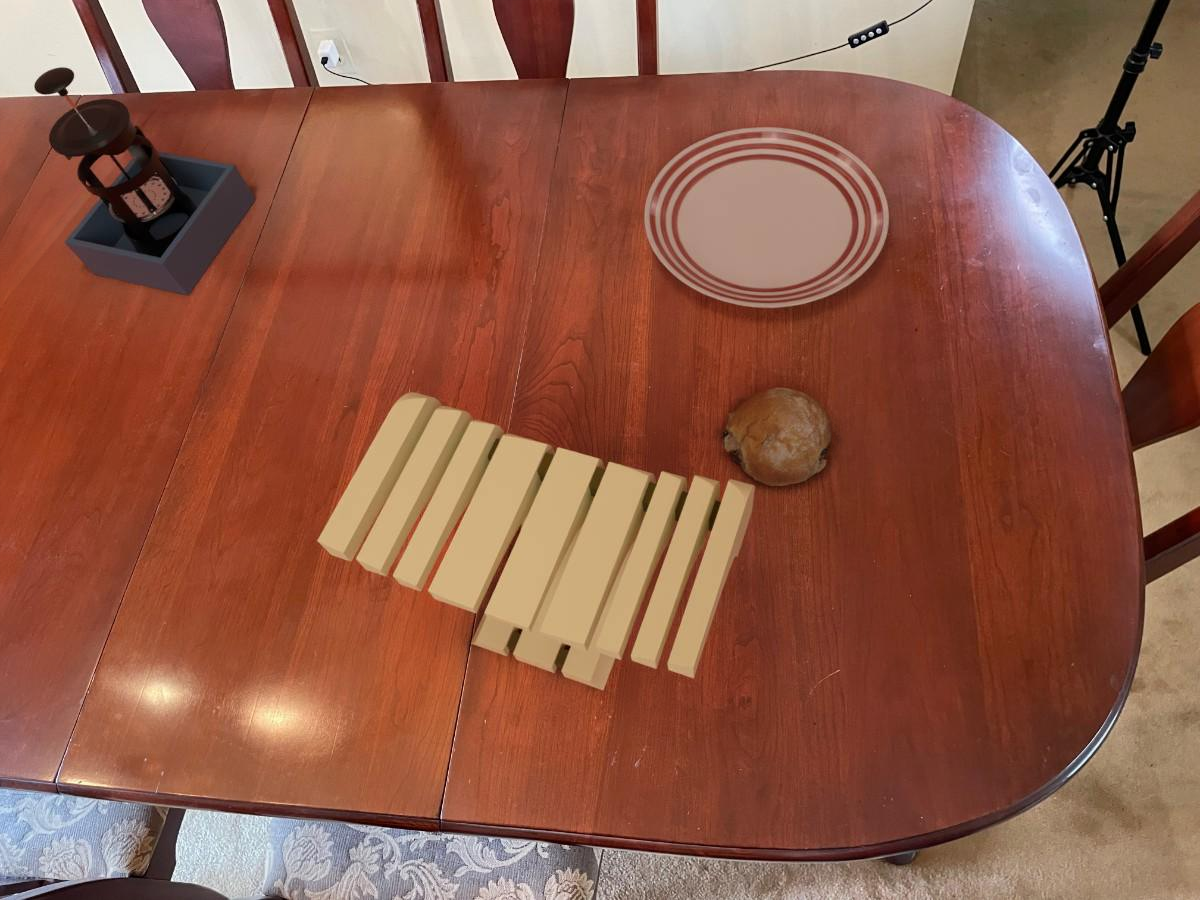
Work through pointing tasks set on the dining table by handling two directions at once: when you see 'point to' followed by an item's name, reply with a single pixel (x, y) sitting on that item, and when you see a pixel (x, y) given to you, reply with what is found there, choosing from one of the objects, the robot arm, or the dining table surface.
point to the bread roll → (779, 436)
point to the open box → (168, 228)
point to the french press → (117, 163)
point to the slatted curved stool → (541, 539)
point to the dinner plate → (766, 217)
